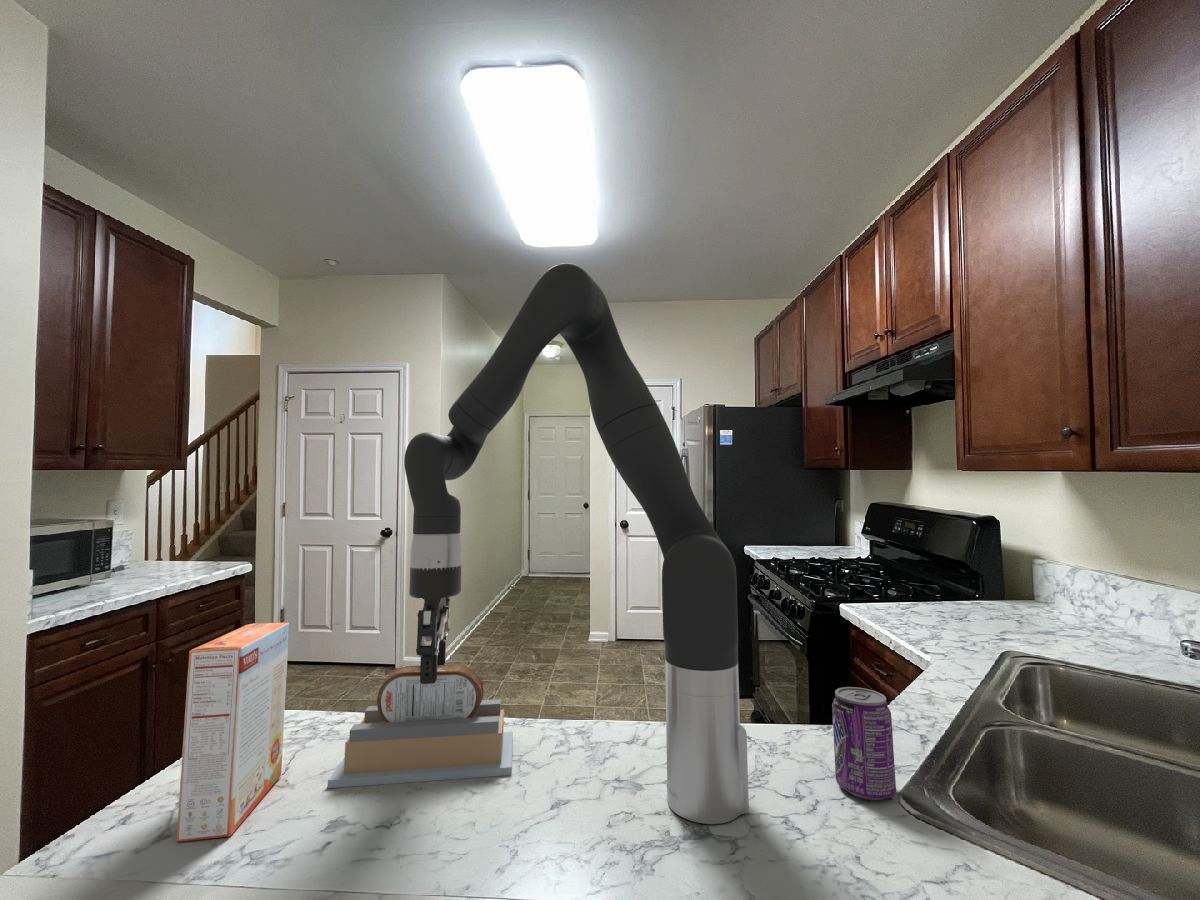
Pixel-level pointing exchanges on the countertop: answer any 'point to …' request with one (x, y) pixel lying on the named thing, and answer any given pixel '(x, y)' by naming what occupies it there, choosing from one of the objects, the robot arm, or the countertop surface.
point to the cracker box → (232, 728)
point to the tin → (430, 694)
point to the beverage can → (863, 743)
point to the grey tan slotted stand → (425, 749)
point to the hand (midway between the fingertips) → (433, 674)
